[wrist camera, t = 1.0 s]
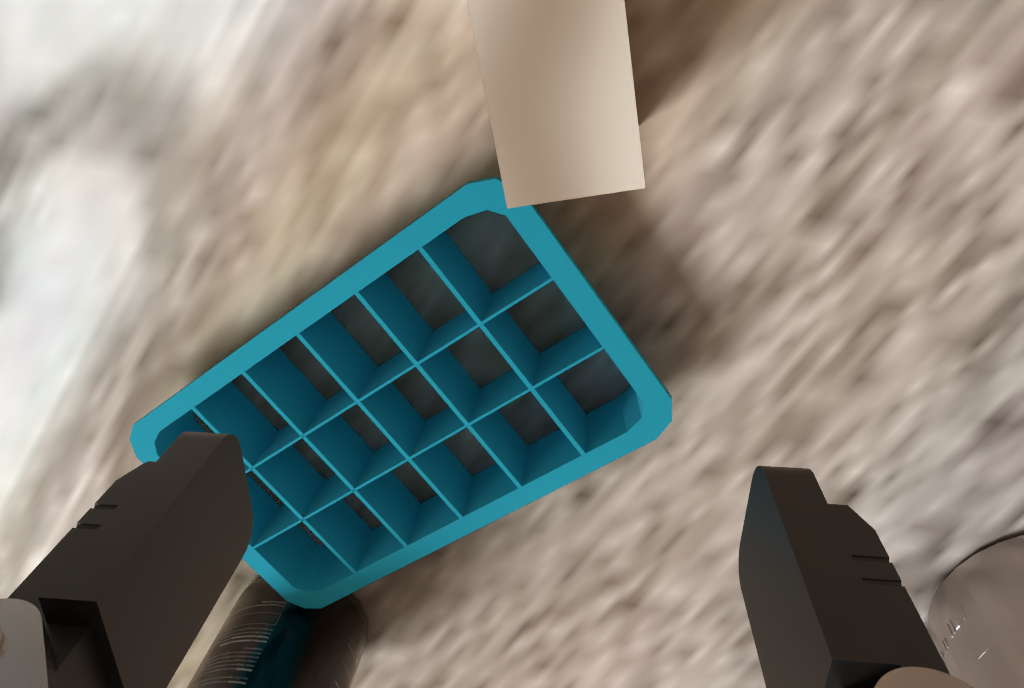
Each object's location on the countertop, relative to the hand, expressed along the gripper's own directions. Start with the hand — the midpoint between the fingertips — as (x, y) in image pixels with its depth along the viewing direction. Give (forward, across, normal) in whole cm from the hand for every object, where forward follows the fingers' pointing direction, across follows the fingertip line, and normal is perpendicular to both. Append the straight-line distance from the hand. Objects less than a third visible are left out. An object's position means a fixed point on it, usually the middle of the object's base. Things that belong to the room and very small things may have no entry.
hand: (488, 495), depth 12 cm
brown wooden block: (+17, -1, -6) cm, 18 cm away
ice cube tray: (+18, +6, +9) cm, 21 cm away
